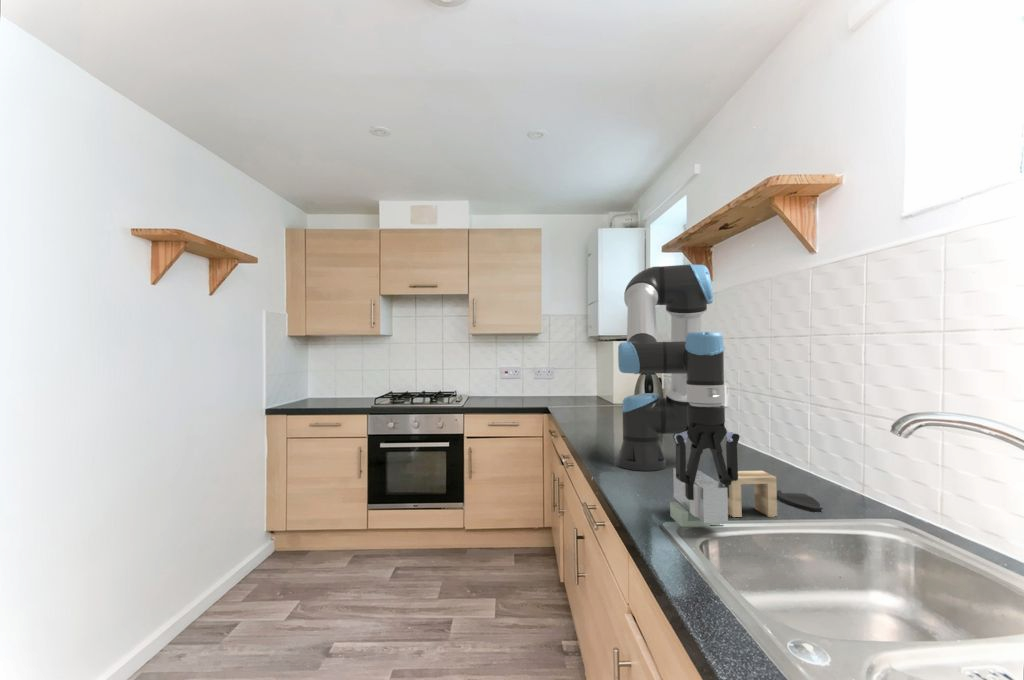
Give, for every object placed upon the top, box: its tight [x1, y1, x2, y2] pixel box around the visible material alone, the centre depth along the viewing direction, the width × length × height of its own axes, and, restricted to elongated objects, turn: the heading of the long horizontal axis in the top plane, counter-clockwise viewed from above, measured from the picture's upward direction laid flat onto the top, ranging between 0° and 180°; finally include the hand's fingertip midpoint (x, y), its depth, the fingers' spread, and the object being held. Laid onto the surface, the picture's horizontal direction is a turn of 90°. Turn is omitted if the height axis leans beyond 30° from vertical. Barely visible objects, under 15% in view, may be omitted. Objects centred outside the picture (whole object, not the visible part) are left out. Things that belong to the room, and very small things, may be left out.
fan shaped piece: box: [777, 490, 824, 513], centre depth 122 cm, size 8×14×2 cm, turn 172°
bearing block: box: [728, 470, 778, 518], centre depth 116 cm, size 6×10×9 cm, turn 92°
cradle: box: [669, 501, 725, 528], centre depth 111 cm, size 7×9×3 cm
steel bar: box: [672, 466, 729, 523], centre depth 110 cm, size 17×5×7 cm, turn 2°
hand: (707, 514), depth 105 cm, fingers closed on steel bar, 5 cm apart
